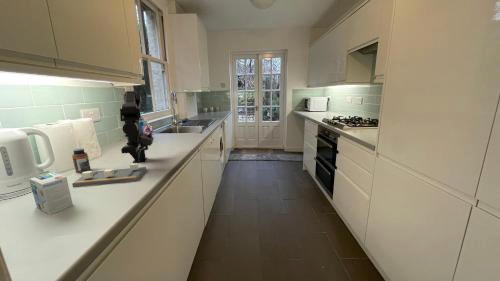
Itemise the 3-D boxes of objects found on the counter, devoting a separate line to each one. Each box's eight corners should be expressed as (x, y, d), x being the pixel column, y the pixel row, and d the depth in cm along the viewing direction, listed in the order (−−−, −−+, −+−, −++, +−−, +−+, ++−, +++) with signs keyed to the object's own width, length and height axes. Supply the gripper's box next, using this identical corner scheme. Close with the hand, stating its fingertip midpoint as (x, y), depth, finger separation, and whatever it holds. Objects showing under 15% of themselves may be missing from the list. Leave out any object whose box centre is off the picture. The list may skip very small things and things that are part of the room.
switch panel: (91, 174, 99) (90, 170, 99) (146, 169, 104) (145, 166, 103) (72, 186, 86) (72, 183, 85) (137, 180, 90) (136, 177, 90)
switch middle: (106, 175, 92) (105, 169, 92) (114, 174, 93) (113, 169, 92) (104, 177, 90) (103, 171, 90) (112, 176, 91) (111, 170, 90)
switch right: (85, 177, 91) (84, 171, 90) (93, 176, 91) (91, 170, 91) (82, 178, 89) (81, 173, 88) (90, 178, 89) (89, 172, 89)
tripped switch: (131, 168, 100) (131, 163, 99) (138, 168, 100) (137, 163, 99) (130, 170, 98) (129, 165, 97) (137, 169, 98) (136, 164, 98)
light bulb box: (35, 207, 71) (27, 178, 68) (60, 198, 77) (53, 171, 74) (49, 215, 66) (40, 184, 63) (74, 205, 72) (67, 176, 69)
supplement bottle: (75, 170, 104) (70, 149, 101) (90, 167, 108) (85, 147, 105) (76, 174, 100) (70, 151, 97) (91, 170, 103) (86, 149, 101)
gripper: (145, 134, 93) (149, 166, 96) (155, 127, 110) (158, 155, 114) (118, 135, 91) (123, 168, 94) (132, 128, 108) (137, 156, 112)
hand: (137, 161), depth 104 cm, fingers closed
